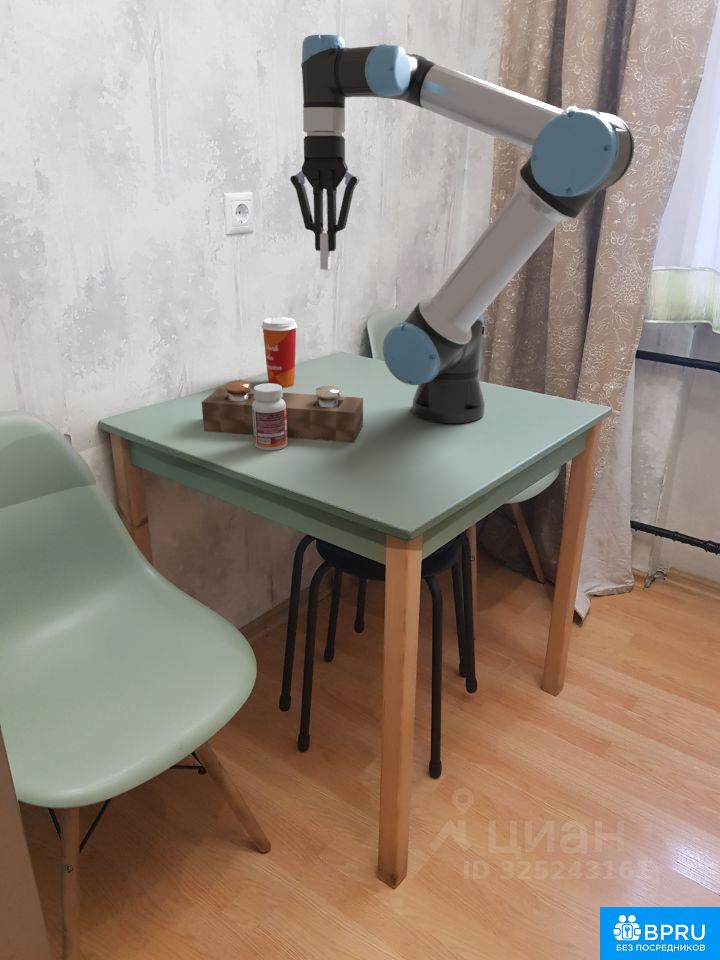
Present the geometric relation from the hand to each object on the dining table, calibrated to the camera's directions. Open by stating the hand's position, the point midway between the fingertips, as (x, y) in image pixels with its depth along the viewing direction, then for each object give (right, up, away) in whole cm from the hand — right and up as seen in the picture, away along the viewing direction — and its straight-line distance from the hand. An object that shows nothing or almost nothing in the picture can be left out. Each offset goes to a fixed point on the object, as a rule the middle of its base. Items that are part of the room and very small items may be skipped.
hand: (325, 268), depth 143 cm
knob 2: (0, -30, 0) cm, 30 cm away
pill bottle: (-10, -35, -6) cm, 37 cm away
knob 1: (-17, -29, +3) cm, 34 cm away
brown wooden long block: (-8, -31, +2) cm, 32 cm away
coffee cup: (-12, -19, +30) cm, 37 cm away
